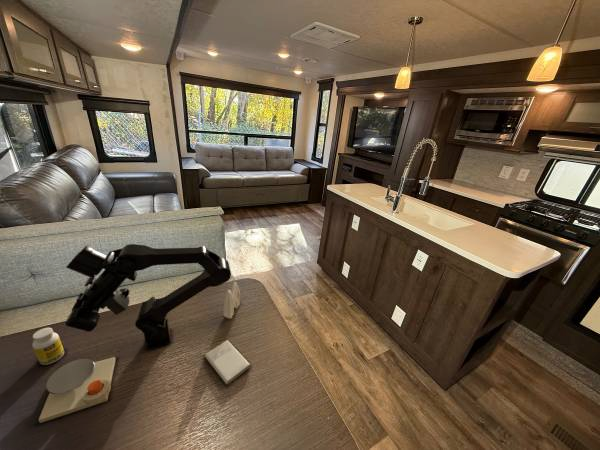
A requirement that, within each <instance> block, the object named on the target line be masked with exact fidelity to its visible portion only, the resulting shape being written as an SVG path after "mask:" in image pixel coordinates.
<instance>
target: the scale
mask: <svg viewBox="0 0 600 450" xmlns="http://www.w3.org/2000/svg"><path fill="white" fill-rule="evenodd" d="M93 362H94V361H93ZM115 364H116V356H113V357H109V358H106V359H102V360H98V361H95V362H94V365H95V370H94V372H93V374H92V376H91V377H90V378H89V379H88V380H87V381H86V382H85V383H84V384H83V385H81V386H80V387H78V388H76V389H75V390H72V391H70V392H67V393H64V394H51V393H50V392H48V393H49V394H48V396H47V398H46V400H45V403H44V406H43V408H42V410H41V413H40V415H39V418H38V422H39V424H42V423H45V422H47V421H51V420H54V419H57V418H59V417H60V418H61V417H63V416H66V415H69V414H72V413H75V412H77V411H82V410H84V409H86V408H90V407H93V406H96V405H99V404H102V403H105V402H107V401H108V399H109V394H110V392H111V388H112V385H111V384H112V379H113V375H114V374H113V373H114V370H115V366H116V365H115ZM95 380H100V381H101V383H102V385H103V388H102V390H101V391H100V392H99V393H97V394H95V395H90V394H89V392H88V389H87V388H88V386H89V384H90V383H92V382H93V381H95Z"/></svg>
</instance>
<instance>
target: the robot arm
mask: <svg viewBox="0 0 600 450" xmlns="http://www.w3.org/2000/svg"><path fill="white" fill-rule="evenodd" d="M185 264H186V265H187V264H189V265H191V264H198V265H200V267H201V268H202V269H203V271H202V272H201V273H200V274H199V275H198V276H196V277H194V278H192V279H191V280H189V281H188V282H186V283H184V284H182V285H181V286H180V287H178V288H177V289H175V290H173V291H172V292H170V293H168V294H167V295H165V296H164V297H162V298H156V297H155V296H151V297H150V298H148V300H145V301H142V302H141V305H140V306H139V307H138V312H137V315H136V319H135V323H134V326H135V328H137V329H138V330H140V331H141V333H143V336H144V341H145V344H146V345H147V346H146V347H147V350H151V349H155V348H159V347H163V346H165V345H169V344H171V328H170V326H169V319H167V315H168V313H170V312H171V311H173V310H174V309H176V308H177V307H179V306H181V305H182V304H184V303H186V302H187V301H189V300H190V299H192V298H194V297H195V296H197V295H198V294H200V293H201V292H203V291H205V290H206V289H208V288H212V287H213V288H214V287H219V286H221V285H223V284H225V283H227V282H228V281H230V280H231V276H232V271H231V267H230V262H229V261H228V259H226V258H224V257H221V256H219V255H218V254H217V253H216V252H213V251H211V250H209V249H208V248H207V247H206V246H202V245H201V246H198V247H171V248H168V247H167V248H165V247H164V248H155V247H151V246H148V245H146V244H145V245H144V244H136V243H130V244H126V245H125V246H123V247H122V248H118V249H114V250H110V251H108V253H107V254H106V255H105V254H104V253H101V252H100V251H97V250H95V249H93V248H92V247H90V246H89V245H85V246H84V247H83V248H82V249H81V250H79V251H78V253H76V254H75V256H74V257H73V258H72V259H71V260H70V261H69V263H68V264H67V265H66V266H65V268H66V269H68V270H71V271H73V272H75V273H78V274H81V275H83V276H86V277H88V278H87V280H86V281H85V283H84V287H86V288H85V289H84V291H83V292H80V293H79V295H78V297H77V298H76V301H75V303H74V305H73V307H71V312H70V313H69V314H68V316H67V318H66V320H65V322H64V324H65V326H66V327H69V328H74V329H77V330H81V331H83V332H84V331H85V332H89V333H90V332H92V331H94V330H95V328H96V327H97V326H98V323H99V321H100V318H101V315H100V313H99V311H100V309H103V310H105V308H107V309H108V310H109V311H111V312H112V313H113V314H114V315H115V316H117V315H119V314H121V313H123V312H124V311H126V310H128V308H129V305H130V296H129V295H130V292H131V290H130V289H129V288H128V287H125V288H120V286H121V285H122V284H123V283H124V282H125V280H127V279H128V280H129V281H132V282H135V281H136V279H137V277H138V272H139V271H143V270H144V271H145V270H146V269H148V268H151V267H154V266H169V265H170V266H171V265H185ZM102 270H103V271H102ZM100 273H101V274H100ZM98 275H99V276H98ZM89 285H90V286H89ZM119 288H120V289H119Z"/></svg>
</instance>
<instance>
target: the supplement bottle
mask: <svg viewBox="0 0 600 450" xmlns="http://www.w3.org/2000/svg"><path fill="white" fill-rule="evenodd" d="M32 339H33V341H32V344H31V345H32V346H31V347H32V349H33V351H34V353H35V355H36V358H37V360H38V362H39V364H40V365H43V366H45V365H51V364H53V363H56V362H57V361H59V360H60V359H61V358H62V357H63V356H64V354H65V350H64V347H63V344H62V341H61V338H60V335H59V334H58V333H57V332H54V330H53V328H52V327H44V328H41V329H38V330H37V331H35V332H34V333H33V334H32Z"/></svg>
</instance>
